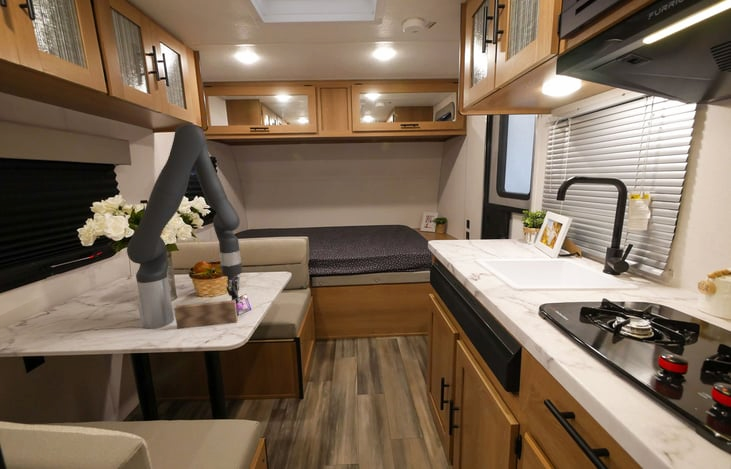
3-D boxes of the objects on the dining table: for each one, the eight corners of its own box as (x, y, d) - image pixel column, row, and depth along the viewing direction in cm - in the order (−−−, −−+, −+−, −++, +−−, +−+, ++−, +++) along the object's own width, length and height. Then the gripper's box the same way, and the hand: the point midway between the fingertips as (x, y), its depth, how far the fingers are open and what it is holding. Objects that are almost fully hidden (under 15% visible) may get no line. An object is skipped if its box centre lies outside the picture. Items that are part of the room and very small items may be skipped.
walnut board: (177, 329, 111) (174, 308, 110) (179, 326, 113) (176, 305, 112) (236, 322, 115) (234, 302, 113) (237, 320, 117) (235, 300, 115)
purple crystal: (227, 301, 118) (247, 293, 125) (220, 303, 120) (239, 295, 128) (233, 318, 118) (252, 309, 125) (225, 320, 120) (244, 311, 128)
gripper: (224, 258, 128) (229, 298, 132) (216, 267, 116) (221, 311, 119) (244, 257, 130) (248, 296, 133) (237, 266, 117) (242, 309, 120)
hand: (235, 303), depth 126 cm, fingers closed
